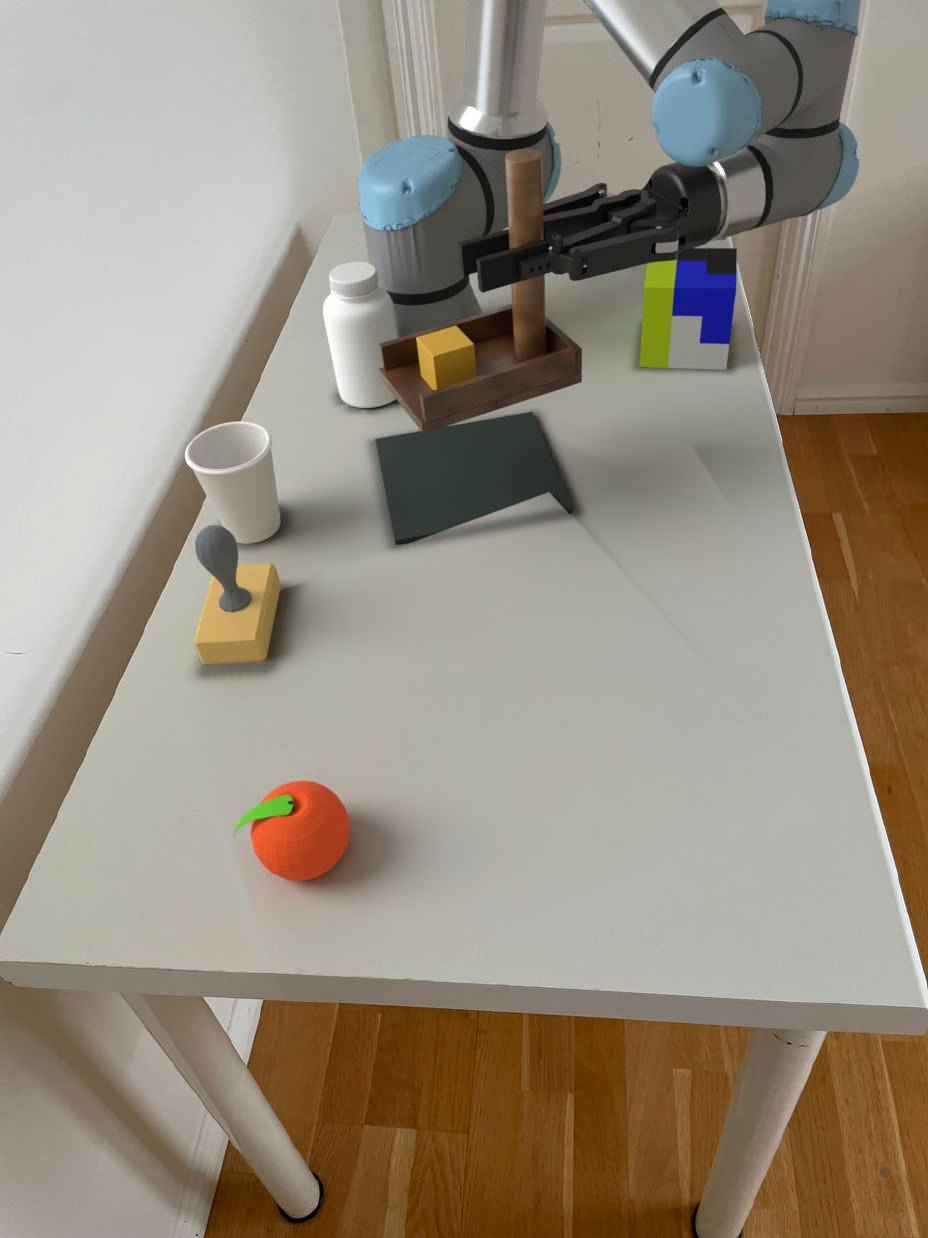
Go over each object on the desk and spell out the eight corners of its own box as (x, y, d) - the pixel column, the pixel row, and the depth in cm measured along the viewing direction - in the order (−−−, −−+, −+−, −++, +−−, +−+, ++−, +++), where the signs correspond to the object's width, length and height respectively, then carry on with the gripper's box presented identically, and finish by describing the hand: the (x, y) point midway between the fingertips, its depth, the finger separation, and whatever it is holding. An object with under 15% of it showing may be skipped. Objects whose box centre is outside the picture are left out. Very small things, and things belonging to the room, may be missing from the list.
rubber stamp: (268, 668, 82) (233, 567, 74) (203, 671, 83) (161, 571, 74) (283, 590, 89) (253, 489, 81) (224, 593, 90) (187, 493, 81)
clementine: (250, 912, 66) (223, 859, 61) (247, 829, 71) (222, 774, 66) (362, 887, 67) (345, 833, 62) (351, 806, 72) (334, 750, 67)
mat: (375, 442, 105) (375, 438, 105) (532, 415, 106) (532, 411, 106) (395, 544, 93) (394, 540, 92) (572, 512, 94) (572, 508, 93)
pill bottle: (415, 377, 114) (398, 257, 104) (390, 413, 109) (370, 291, 99) (355, 371, 117) (333, 253, 106) (328, 406, 111) (302, 286, 101)
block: (459, 363, 89) (456, 325, 86) (477, 383, 86) (474, 343, 83) (421, 375, 88) (415, 336, 85) (437, 395, 85) (433, 356, 82)
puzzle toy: (726, 369, 110) (736, 288, 103) (639, 367, 112) (643, 287, 105) (727, 327, 116) (736, 248, 109) (645, 325, 118) (649, 247, 111)
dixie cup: (284, 492, 100) (261, 411, 93) (301, 538, 95) (279, 456, 88) (206, 513, 99) (178, 434, 92) (220, 562, 93) (191, 481, 86)
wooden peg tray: (528, 332, 94) (520, 129, 81) (582, 382, 87) (584, 168, 73) (379, 377, 90) (345, 172, 77) (423, 434, 83) (394, 218, 69)
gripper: (749, 273, 84) (514, 347, 78) (650, 212, 94) (437, 273, 89) (761, 186, 78) (509, 259, 73) (655, 132, 89) (428, 192, 83)
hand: (470, 267), depth 81 cm, fingers closed on wooden peg tray, 3 cm apart
